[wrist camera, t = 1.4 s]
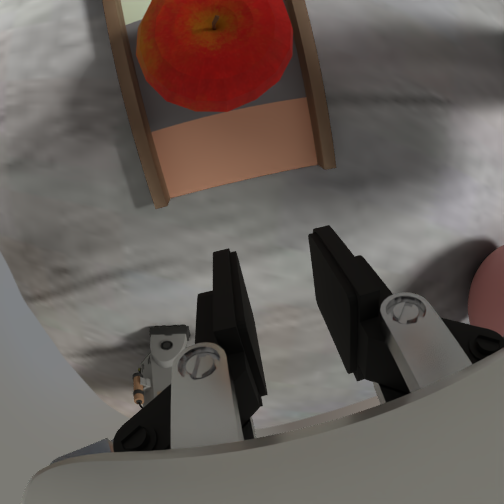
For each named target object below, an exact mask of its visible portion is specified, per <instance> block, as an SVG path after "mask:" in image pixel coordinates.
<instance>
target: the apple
mask: <svg viewBox="0 0 504 504" xmlns="http://www.w3.org/2000/svg"><path fill="white" fill-rule="evenodd" d="M292 51H293V28H292V24H291V21H290V18H289V16H288V13H287V10H286V8H285V5H284V2H283V0H152V1H151V3H150V5H149V7H148V9H147V11H146V13H145V15H144V16H143V18H142V20H141V23H140V25H139V27H138V32H137V46H136V57H137V59H138V62H139V64H140V67H141V69H142V72H143V74H144V77H145V79H146V81H147V82H148V83H149V84H150V85H151V86H152V87H153V88H154V89H155V90H156V91H157V92H158V93H159V94H160V95H161V96H162V97H163V98H164V99H165V100H166V101H167V102H170V103H173V104H176V105H179V106H182V107H184V108H187V109H190V110H193V111H195V112H229V111H231V110H233V109H235V108H238V107H240V106H242V105H244V104H247V103H249V102H251V101H254V100H256V99H257V98H259V97H260V96H261V95H262V94H263V93H265V92H266V91H267V90H268V89H270V88H271V87H272V86H273V85H275V84H276V83H277V82H278V81H279V80H280V79H281V77H282V75H283V73H284V71H285V69H286V67H287V65H288V63H289V61H290V60H291V58H292Z"/></svg>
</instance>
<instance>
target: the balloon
mask: <svg viewBox="0 0 504 504" xmlns="http://www.w3.org/2000/svg"><path fill="white" fill-rule="evenodd" d="M468 315H469V321H470V325H473V326H478V327H482V328H487V329H490V330H493V331H496V332H497V333H499V334H500V335H501V336H502V337H503V336H504V245H503V246H501V247H499V248H497V249H496V250H494V251H493V252H492V253H491V254H490V255H488V256H487V258H486V259H485V260H484V261H483V262H482V264H481V265H480V266H479V268H478V270H477V272H476V274H475V276H474V278H473V281H472V283H471V287H470V291H469V297H468Z"/></svg>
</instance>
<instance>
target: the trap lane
mask: <svg viewBox="0 0 504 504" xmlns="http://www.w3.org/2000/svg"><path fill="white" fill-rule="evenodd" d="M102 1H103V7H104V13H105V18H106V24H107V29H108V34H109V39H110V44H111V48H112V53H113V58H114V62H115V67H116V71H117V75H118V79H119V84H120V88H121V92H122V96H123V100H124V104H125V108H126V111H127V115H128V119H129V123H130V126H131V130H132V133H133V137H134V141H135V144H136V148H137V151H138V154H139V158H140V161H141V164H142V168H143V171H144V174H145V178H146V181H147V184H148V187H149V190H150V193H151V196H152V200H153V203H154V206H155V209H158V208H162V207H165V206H167V205H168V203H169V201H170V198H174V197H177V196H181V195H185V194H189V193H193V192H196V191H200V190H204V189H208V188H212V187H216V186H220V185H225V184H229V183H233V182H237V181H242V180H246V179H250V178H255V177H259V176H264V175H269V174H273V173H278V172H283V171H288V170H293V169H298V168H303V167H308V166H313V165H319V166H320V167H322V168H323V169H325V170H326V169H332V168H336V161H335V154H334V146H333V139H332V133H331V126H330V120H329V113H328V107H327V102H326V96H325V90H324V85H323V80H322V74H321V69H320V64H319V60H318V55H317V50H316V46H315V41H314V37H313V33H312V28H311V24H310V20H309V16H308V12H307V8H306V4H305V0H283V2H284V5H285V8H286V10H287V13H288V16H289V18H290V21H291V24H292V28H293V51H292V58H291V60H290V61H289V63H288V65H287V67H286V69H285V71H284V73H283V75H282V77H281V79H280V80H279V81H278V82H277V83H276V84H275V85H273V86H272V87H271V88H270V89H268V90H267V91H266V92H265V93H263V94H262V95H261V96H260V97H259V98H257V99H256V100H254V101H251V102H249V103H247V104H244V105H242V106H240V107H238V108H235V109H233V110H231V111H229V112H195V111H193V110H190V109H187V108H184V107H182V106H179V105H176V104H173V103H170V102H167V101H166V100H165V99H164V98H163V97H162V96H161V95H160V94H159V93H158V92H157V91H156V90H155V89H154V88H153V87H152V86H151V85H150V84H149V83H148V82H147V81H146V79H145V77H144V74H143V72H142V69H141V67H140V64H139V62H138V59H137V57H136V46H137V32H138V27H139V25H140V23H141V20H142V18H143V16H144V15H145V13H146V11H147V9H148V7H149V5H150V3H151V1H152V0H102Z"/></svg>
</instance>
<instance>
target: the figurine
mask: <svg viewBox="0 0 504 504" xmlns="http://www.w3.org/2000/svg"><path fill="white" fill-rule="evenodd" d="M189 336H190V332H189V327H188V326H186V325H181V326H180V327H178V325H174V326H173V327H167V326H162V327H159V326H155V327H154V328H150V337H151V339H150V349H151V353H150V354H149V355H148V356H147V357H146V358H145V360H144V361H143V362H142V363H141V368H138V371H139V373H135V374H133V381H134V392H133V395H134V402H135V403H136V404H139V406H140V407H141V408H144V407H145V406H146V405H147V404H148V403H149V402H150V401H152V400H153V399H154V398H155V397H156V396H157V395H158V394H160V393H161V392H162V391H163V390H164V389H165V388H166V387H168V386H169V385H170V384H171V378H172V365H173V361H174V360H175V358H176V356H177V355H178V354H179V353H180V352H181V351H182V350H184V349H185V348H187V347H186V343H187V341H188V340H189ZM141 404H143V407H142V406H141Z"/></svg>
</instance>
